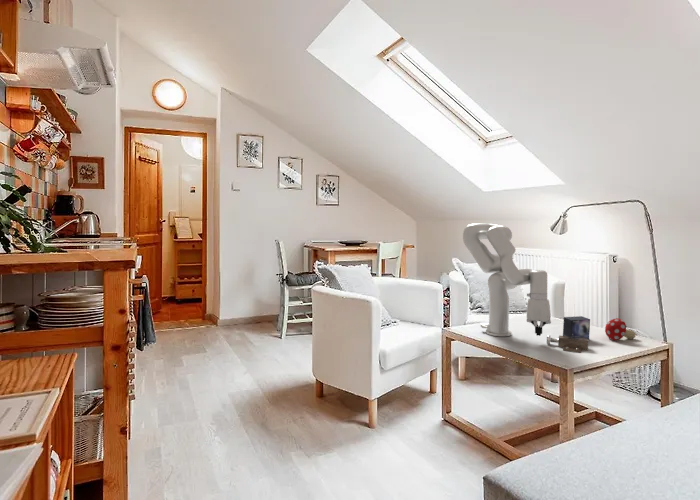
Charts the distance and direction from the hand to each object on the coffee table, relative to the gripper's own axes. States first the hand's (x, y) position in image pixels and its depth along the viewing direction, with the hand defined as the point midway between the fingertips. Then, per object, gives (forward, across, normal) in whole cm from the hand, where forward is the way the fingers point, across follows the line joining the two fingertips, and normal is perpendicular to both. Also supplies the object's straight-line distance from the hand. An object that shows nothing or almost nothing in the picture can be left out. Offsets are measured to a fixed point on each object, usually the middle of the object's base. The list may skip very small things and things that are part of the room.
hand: (538, 335), depth 214 cm
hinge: (+4, +15, 0) cm, 15 cm away
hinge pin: (+4, +11, 0) cm, 12 cm away
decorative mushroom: (+5, +34, +26) cm, 43 cm away
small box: (+4, +15, +17) cm, 23 cm away
